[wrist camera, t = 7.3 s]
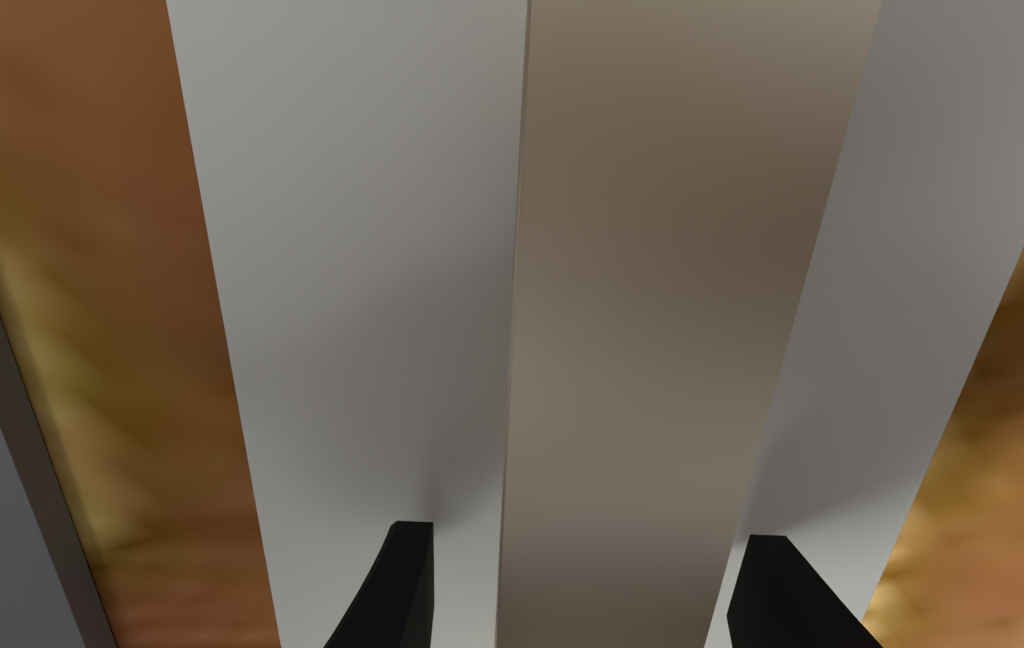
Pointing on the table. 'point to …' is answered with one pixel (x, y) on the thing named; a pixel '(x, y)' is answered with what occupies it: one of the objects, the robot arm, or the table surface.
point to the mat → (489, 276)
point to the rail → (656, 296)
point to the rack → (38, 538)
